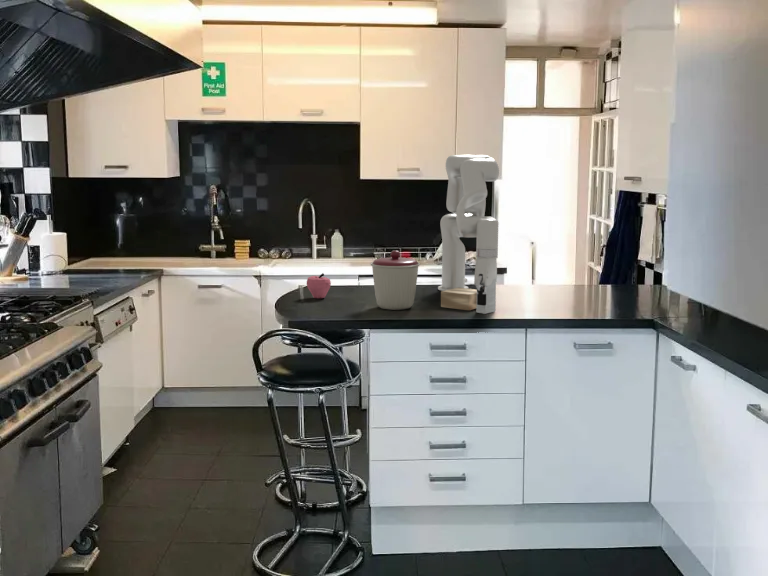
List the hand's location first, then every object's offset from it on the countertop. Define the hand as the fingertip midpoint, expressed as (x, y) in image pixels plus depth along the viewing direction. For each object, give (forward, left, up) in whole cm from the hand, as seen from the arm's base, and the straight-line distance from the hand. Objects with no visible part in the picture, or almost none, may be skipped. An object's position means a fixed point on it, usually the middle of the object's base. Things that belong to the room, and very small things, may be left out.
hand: (485, 303), depth 290 cm
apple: (+6, -68, -4) cm, 68 cm away
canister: (+9, -32, -4) cm, 33 cm away
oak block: (-7, -12, -4) cm, 14 cm away
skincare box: (0, 0, -4) cm, 4 cm away
